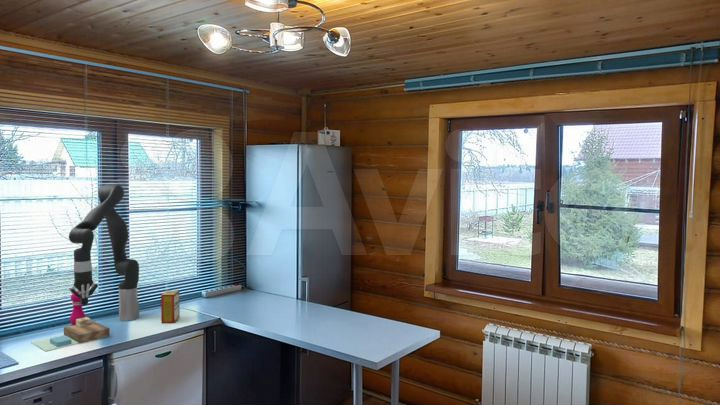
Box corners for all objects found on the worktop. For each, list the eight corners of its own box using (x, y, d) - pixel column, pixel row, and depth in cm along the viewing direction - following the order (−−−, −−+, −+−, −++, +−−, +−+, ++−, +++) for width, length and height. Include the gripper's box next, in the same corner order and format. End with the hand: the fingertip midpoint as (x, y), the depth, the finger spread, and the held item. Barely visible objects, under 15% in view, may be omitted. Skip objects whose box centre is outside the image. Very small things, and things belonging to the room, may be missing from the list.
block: (86, 322, 249) (86, 317, 249) (90, 324, 246) (90, 318, 246) (76, 325, 245) (75, 319, 245) (80, 327, 242) (80, 321, 242)
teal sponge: (49, 338, 230) (49, 342, 230) (57, 342, 224) (57, 347, 224) (63, 335, 235) (63, 339, 235) (71, 339, 229) (71, 343, 229)
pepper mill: (71, 325, 257) (70, 288, 256) (87, 324, 260) (86, 287, 259) (68, 329, 250) (67, 291, 249) (84, 328, 253) (83, 290, 252)
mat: (63, 335, 242) (63, 334, 242) (79, 343, 230) (79, 342, 230) (31, 342, 231) (31, 342, 231) (45, 351, 219) (45, 350, 219)
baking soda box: (173, 323, 263) (173, 294, 262) (161, 323, 263) (161, 294, 262) (179, 318, 272) (179, 290, 271) (167, 318, 272) (167, 290, 271)
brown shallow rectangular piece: (93, 328, 252) (93, 321, 252) (109, 336, 241) (109, 328, 241) (63, 335, 242) (63, 327, 241) (79, 343, 230) (78, 335, 230)
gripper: (93, 266, 243) (95, 300, 245) (64, 271, 233) (66, 306, 234) (100, 268, 239) (102, 303, 240) (71, 273, 228) (73, 309, 230)
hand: (84, 305), depth 237 cm, fingers closed
